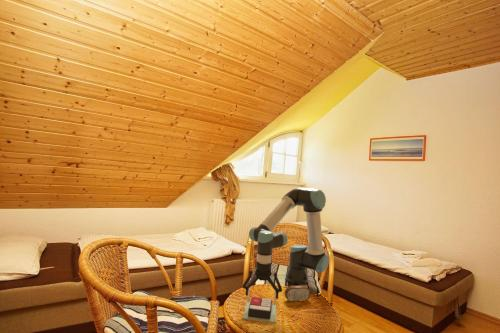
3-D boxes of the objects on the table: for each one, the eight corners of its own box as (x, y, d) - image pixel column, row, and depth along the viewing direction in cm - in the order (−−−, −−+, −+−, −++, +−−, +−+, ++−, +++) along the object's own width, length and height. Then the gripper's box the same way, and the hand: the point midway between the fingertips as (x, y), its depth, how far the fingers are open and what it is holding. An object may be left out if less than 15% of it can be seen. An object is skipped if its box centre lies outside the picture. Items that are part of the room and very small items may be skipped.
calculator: (272, 298, 153) (270, 310, 138) (271, 306, 153) (270, 319, 138) (252, 295, 155) (248, 307, 140) (251, 303, 154) (247, 316, 140)
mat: (276, 305, 154) (276, 304, 154) (275, 323, 137) (276, 321, 137) (246, 302, 156) (246, 301, 156) (242, 319, 138) (242, 317, 138)
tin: (307, 299, 166) (309, 284, 166) (310, 301, 163) (311, 286, 163) (283, 300, 162) (284, 285, 162) (285, 302, 159) (286, 287, 159)
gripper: (288, 261, 149) (285, 302, 149) (240, 257, 152) (238, 297, 151) (288, 266, 142) (286, 309, 142) (238, 261, 144) (236, 304, 144)
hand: (261, 303), depth 147 cm, fingers open, 13 cm apart
